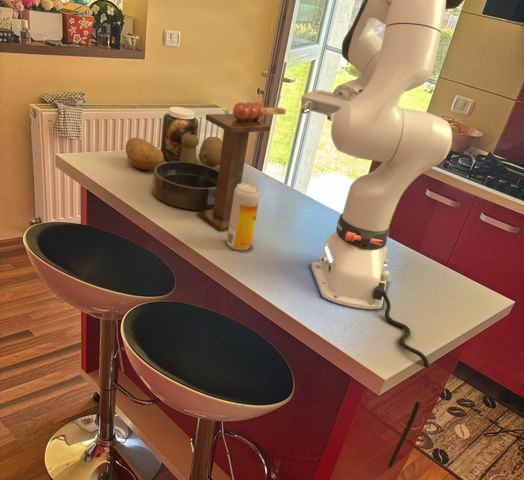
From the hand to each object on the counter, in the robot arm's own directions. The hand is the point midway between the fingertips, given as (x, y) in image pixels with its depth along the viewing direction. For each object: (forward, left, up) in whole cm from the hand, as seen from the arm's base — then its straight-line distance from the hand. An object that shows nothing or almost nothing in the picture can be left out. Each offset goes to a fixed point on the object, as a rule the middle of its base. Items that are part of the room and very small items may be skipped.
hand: (315, 114), depth 148 cm
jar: (+23, +40, -27) cm, 54 cm away
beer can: (-33, +13, -27) cm, 45 cm away
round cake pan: (-8, +31, -27) cm, 42 cm away
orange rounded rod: (-16, +15, -1) cm, 22 cm away
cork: (+13, +35, -27) cm, 46 cm away
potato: (+7, +47, -27) cm, 55 cm away
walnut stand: (-20, +19, -27) cm, 39 cm away
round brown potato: (+20, +28, -27) cm, 44 cm away
